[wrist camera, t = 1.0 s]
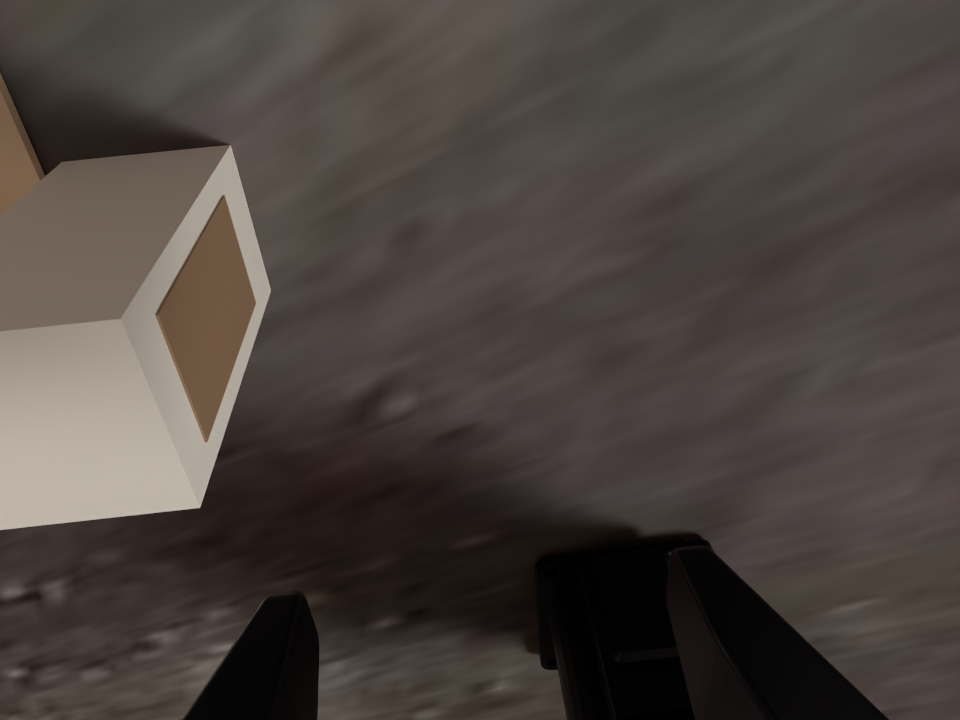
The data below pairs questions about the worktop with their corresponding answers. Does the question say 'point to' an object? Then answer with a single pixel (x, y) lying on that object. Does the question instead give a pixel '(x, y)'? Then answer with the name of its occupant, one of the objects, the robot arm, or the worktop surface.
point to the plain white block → (123, 333)
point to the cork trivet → (15, 154)
